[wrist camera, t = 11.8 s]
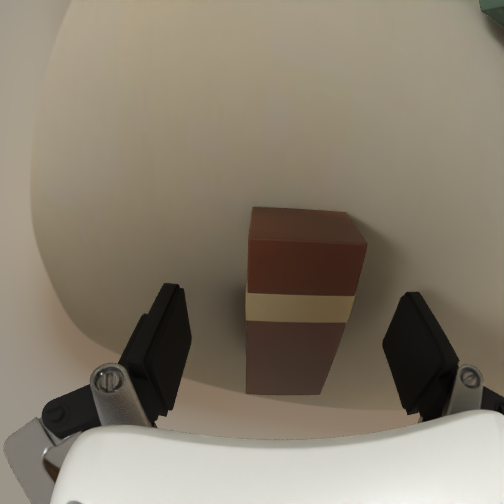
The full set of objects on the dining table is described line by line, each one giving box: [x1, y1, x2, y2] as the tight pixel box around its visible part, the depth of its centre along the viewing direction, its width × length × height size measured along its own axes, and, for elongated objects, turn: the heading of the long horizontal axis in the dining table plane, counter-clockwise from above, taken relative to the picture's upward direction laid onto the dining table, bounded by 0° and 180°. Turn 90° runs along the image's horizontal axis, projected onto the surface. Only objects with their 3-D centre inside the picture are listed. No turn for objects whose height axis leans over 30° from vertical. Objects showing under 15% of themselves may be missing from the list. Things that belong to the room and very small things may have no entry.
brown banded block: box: [245, 207, 367, 395], centre depth 11 cm, size 4×8×3 cm, turn 179°
